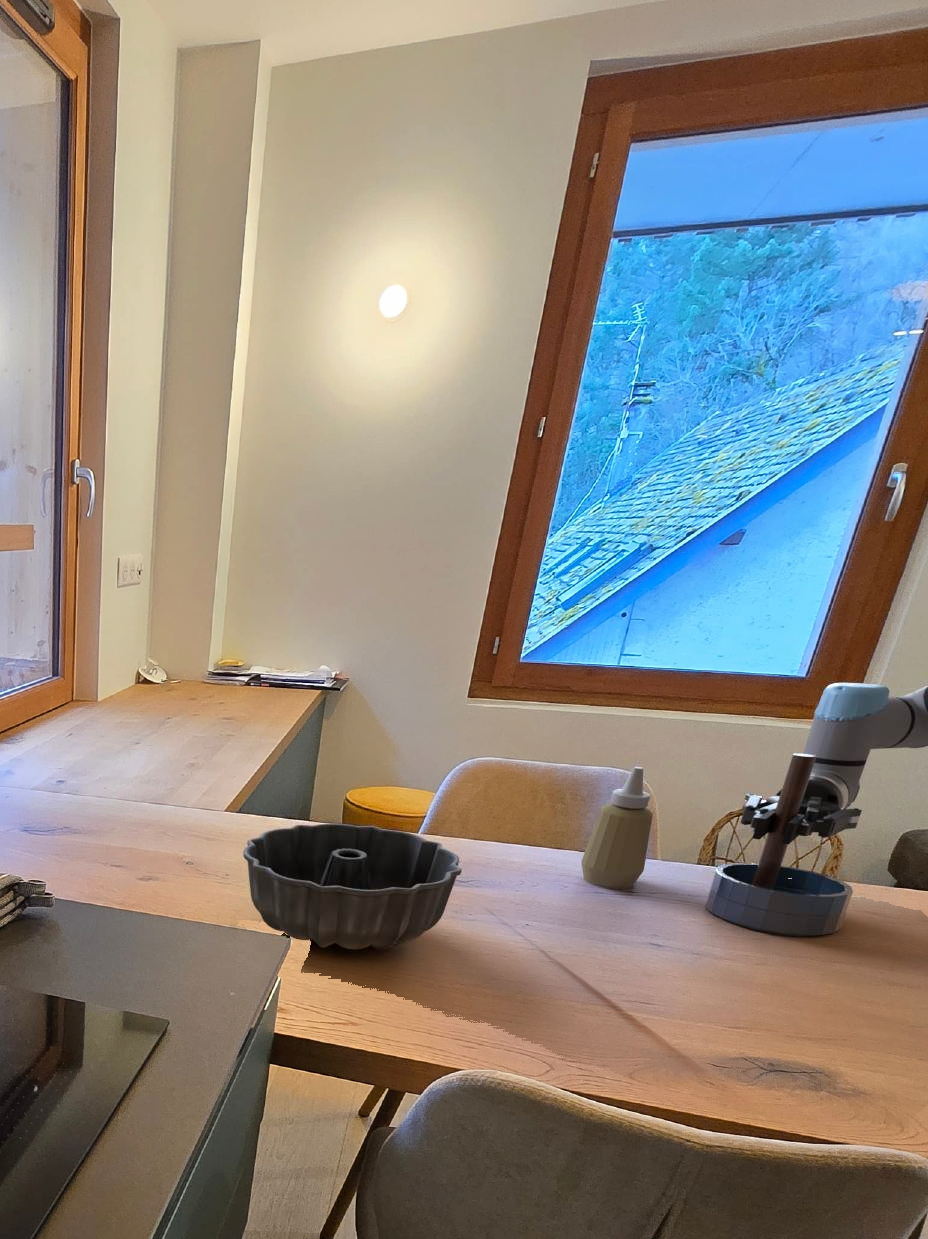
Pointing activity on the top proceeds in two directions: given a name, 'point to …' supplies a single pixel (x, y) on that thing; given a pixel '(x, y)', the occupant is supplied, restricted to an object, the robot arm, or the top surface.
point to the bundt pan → (349, 883)
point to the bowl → (779, 900)
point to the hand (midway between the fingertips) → (773, 831)
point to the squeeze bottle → (620, 837)
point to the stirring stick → (783, 819)
